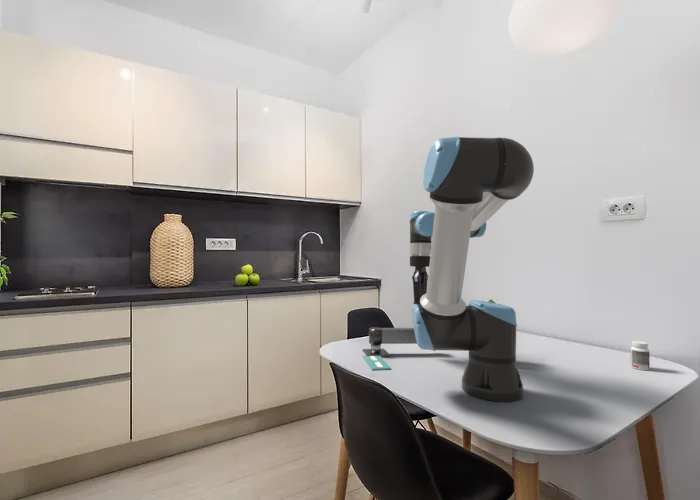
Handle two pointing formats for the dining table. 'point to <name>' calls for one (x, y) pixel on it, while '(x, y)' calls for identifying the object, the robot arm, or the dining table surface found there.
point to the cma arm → (392, 336)
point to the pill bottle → (640, 355)
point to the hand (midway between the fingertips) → (420, 322)
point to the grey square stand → (376, 351)
